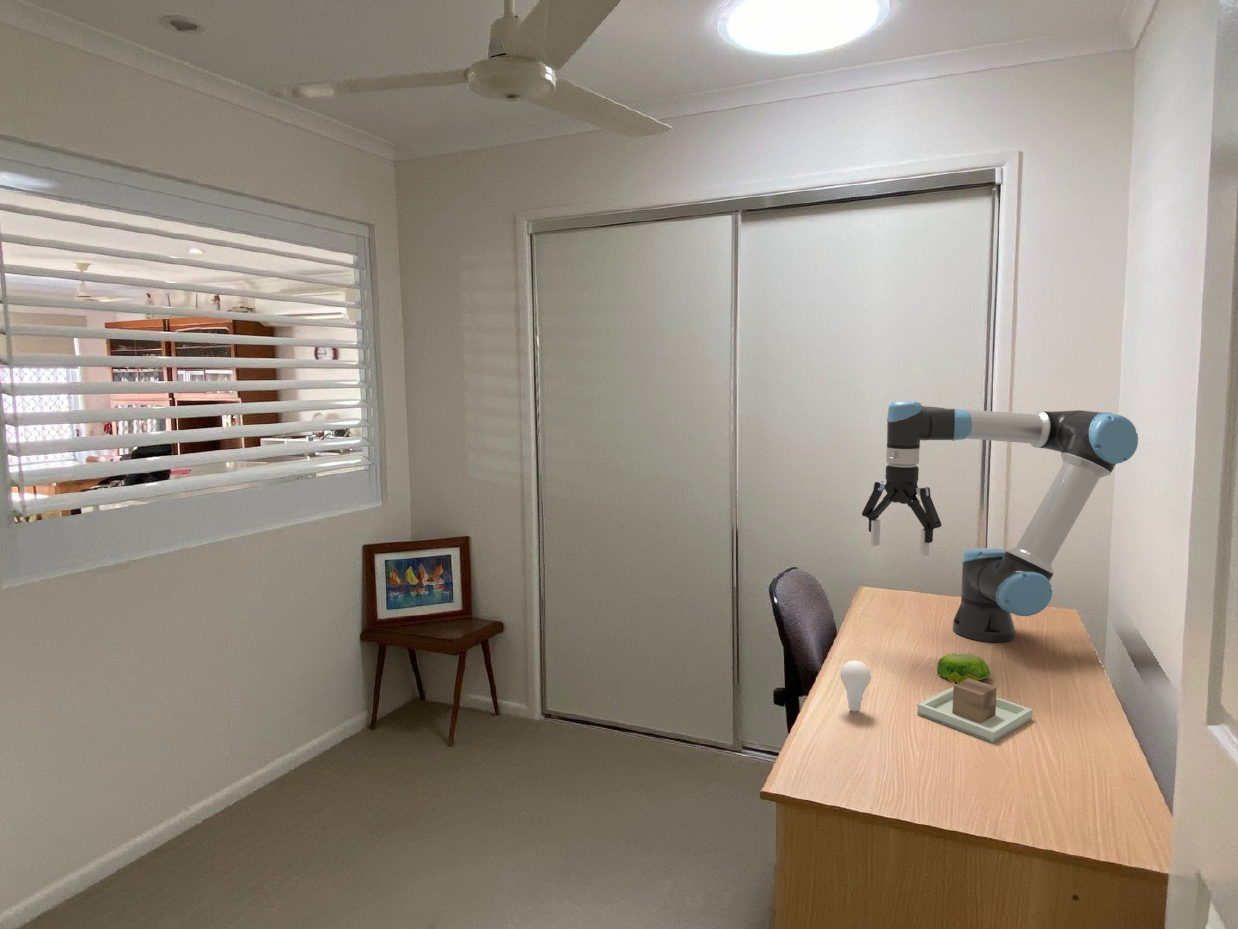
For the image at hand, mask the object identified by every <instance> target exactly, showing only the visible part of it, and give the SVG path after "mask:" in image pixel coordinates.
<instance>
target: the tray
mask: <svg viewBox="0 0 1238 929" xmlns="http://www.w3.org/2000/svg"><path fill="white" fill-rule="evenodd" d="M953 689H954V686H952V687H950V688H948V689H946V690H944V691H941V692H939V693H938V694H935V695H934V696H931V697H930V698H927V699H925V700H923V701H922V702H919V703H917V712H916V714H917V715H918V716H921V717H923V718H926V719H929V720H931V721H933V722H937V723H939V724H942V725H945V726H947V727H949V728H952V729H954V730H958V731H960V732H963V733H965V734H967V735H969V736H970V735H971V736H973V737H974V738H975V737H976V738H978V739H981V740H982V741H983V740H984V741H986V742H989V743H990V744H995V743H996V742H998V741H999V740H1001V739H1003V738H1004V737H1006V736H1007V735H1009V734H1010V733H1013V731H1015V730H1017V729H1019V728H1020V727H1022V726H1024V725H1025V724H1027V723H1028V722H1031V721H1032V720H1033V711H1034V710H1033V708H1031V707H1027V706H1023V705H1021V704H1018V703H1015V702H1012V701H1009V700H1006V699H1003V698H1000V697H997V696H996V713H995V716H993V717H991V718H990V719H988V720H986V721H984V722H983V723H981V724H980V723H978V722H975V721H972V720H969V719H967V718H964V717H961V716H958V715H956V714H953V713H952V710H953Z"/></svg>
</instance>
